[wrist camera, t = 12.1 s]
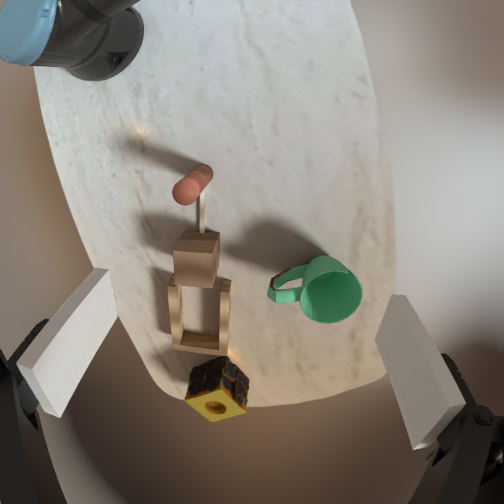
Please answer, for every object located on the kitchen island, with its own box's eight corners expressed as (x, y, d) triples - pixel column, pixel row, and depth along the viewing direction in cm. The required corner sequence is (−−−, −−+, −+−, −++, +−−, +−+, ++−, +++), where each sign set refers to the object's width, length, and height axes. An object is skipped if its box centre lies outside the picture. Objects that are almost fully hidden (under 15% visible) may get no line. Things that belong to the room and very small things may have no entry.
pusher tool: (185, 163, 47) (161, 179, 36) (222, 165, 47) (208, 181, 36) (186, 261, 54) (168, 299, 43) (219, 264, 54) (208, 303, 43)
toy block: (226, 353, 64) (221, 388, 55) (251, 379, 67) (248, 412, 58) (190, 367, 67) (182, 400, 58) (216, 391, 70) (211, 423, 61)
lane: (173, 274, 56) (167, 286, 52) (231, 280, 56) (229, 292, 52) (177, 336, 62) (173, 349, 59) (228, 342, 62) (226, 356, 59)
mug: (350, 241, 51) (366, 268, 42) (345, 289, 55) (358, 321, 46) (266, 244, 52) (266, 273, 43) (268, 292, 56) (268, 326, 47)
